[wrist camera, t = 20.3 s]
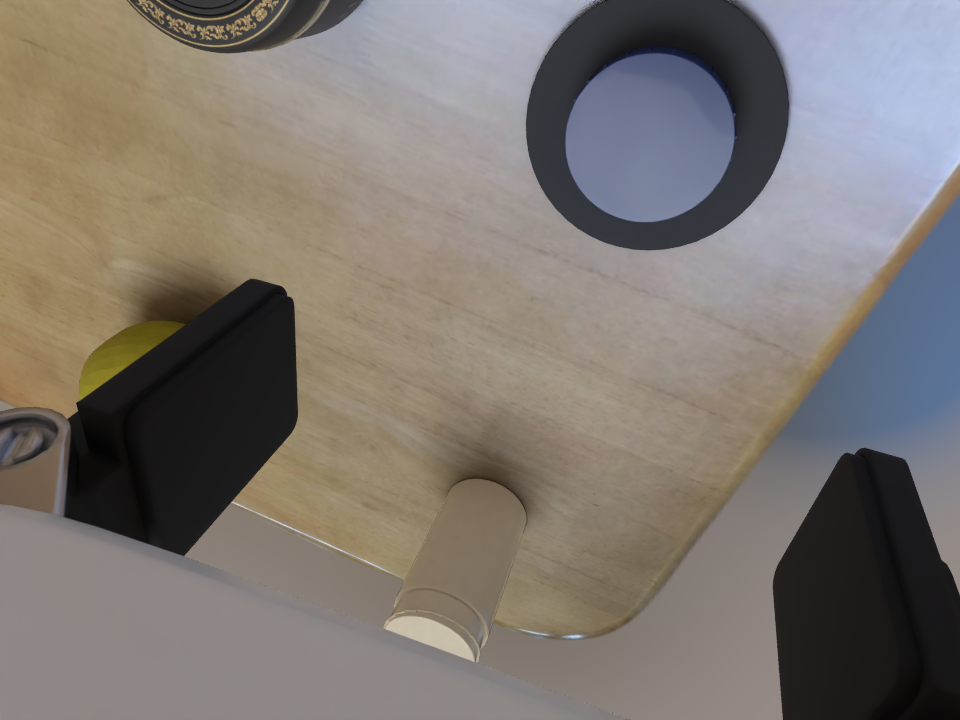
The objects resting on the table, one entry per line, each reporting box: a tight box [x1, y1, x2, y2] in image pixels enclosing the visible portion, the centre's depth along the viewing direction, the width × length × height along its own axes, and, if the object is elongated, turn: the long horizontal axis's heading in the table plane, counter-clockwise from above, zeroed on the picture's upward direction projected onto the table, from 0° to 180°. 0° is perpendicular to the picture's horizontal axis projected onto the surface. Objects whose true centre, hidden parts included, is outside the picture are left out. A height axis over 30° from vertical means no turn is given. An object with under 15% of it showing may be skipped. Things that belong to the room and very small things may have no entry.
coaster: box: [526, 0, 789, 250], centre depth 29 cm, size 11×11×1 cm
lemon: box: [79, 320, 186, 401], centre depth 42 cm, size 11×8×8 cm
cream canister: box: [383, 479, 527, 663], centre depth 40 cm, size 6×6×11 cm
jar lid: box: [565, 44, 737, 222], centre depth 28 cm, size 7×7×2 cm
